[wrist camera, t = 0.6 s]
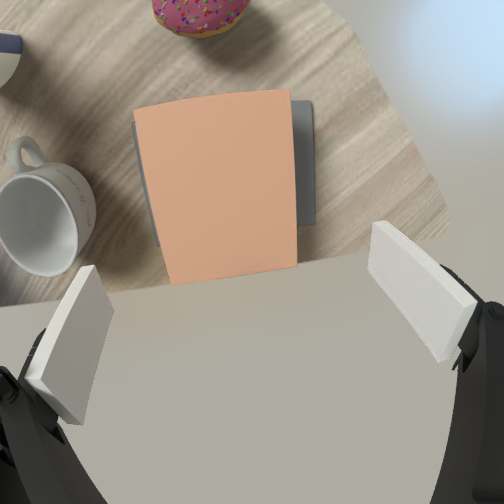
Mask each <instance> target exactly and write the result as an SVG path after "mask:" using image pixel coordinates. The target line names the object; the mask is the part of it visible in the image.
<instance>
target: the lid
mask: <svg viewBox="0 0 504 504" xmlns="http://www.w3.org/2000/svg"><path fill="white" fill-rule="evenodd" d="M133 112H134V119H135V125H136V132H137V138H138V144H139V149H140V155H141V160H142V166H143V171H144V176H145V181H146V186H147V190H148V195H149V200H150V204H151V209H152V213H153V217H154V221H155V226H156V230H157V234H158V238H159V242H160V246H161V249H162V253H163V257H164V261H165V264H166V268H167V272H168V275H169V279H170V282H171V286H173V285H180V284H187V283H194V282H200V281H208V280H214V279H220V278H228V277H234V276H241V275H246V274H254V273H260V272H266V271H272V270H279V269H285V268H291V267H297V220H296V188H295V165H294V145H293V129H292V114H291V100H290V89H281V90H261V91H247V92H236V93H227V94H218V95H210V96H203V97H196V98H190V99H184V100H178V101H172V102H167V103H162V104H157V105H153V106H148V107H144V108H139V109H135V110H133Z"/></svg>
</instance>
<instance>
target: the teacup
mask: <svg viewBox="0 0 504 504" xmlns="http://www.w3.org/2000/svg"><path fill="white" fill-rule="evenodd" d="M22 147H23V148H24V149H25V150H26V151H27V152H28V153H29V155H30V156H31V158H32V159H33V161H34V163H35V167H34V168H33V167H32V166H27V165H26V164H24V162H23V161H22V157H21V148H22ZM8 158H9V164H10V166H11V168H12V170H13V171H14V173H15V174H16V176H15V177H13V178H11V179H10V180H9V181H8V182H7V183H6V184H5V185H4V186H3V187H2V188H1V190H0V241H1V243H2V245H3V247H4V248H5V250H6V252H7V253H8V254H9V256H10V257H11V258H12V259H13V260H14V261H15V262H16V263H17V264H18V265H19V266H20V267H21V268H23V269H24V270H26V271H28V272H30V273H32V274H34V275H37V276H41V277H50V278H51V277H55V276H59V275H61V274H63V273H65V272H66V271H67V270H68V269H69V268H70V267H71V266H72V264H73V263H74V261H75V259H76V257H77V255H78V254H79V253H80V251H81V250H82V248H83V247H84V245H85V244H86V242H87V241H88V239H89V237H90V236H91V233H92V231H93V228H94V225H95V220H96V203H95V198H94V195H93V192H92V189H91V187H90V185H89V184H88V182H87V181H86V179H85V178H84V177H83V175H82V174H81V173H80V172H78V171H77V170H76V169H74V168H73V167H71V166H69V165H67V164H64V163H58V162H51V163H50V162H49V160H48V158H46V157H45V156H44V154H43V152H42V151H41V149H40V147H39V146H38V144H37V143H36V142H35V140H34V139H32V138H31V137H28V136H23V137H20V138H18V139H17V140H15V141H14V142H13V143H12V145H11V147H10V149H9V154H8Z"/></svg>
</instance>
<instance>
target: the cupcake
mask: <svg viewBox="0 0 504 504" xmlns="http://www.w3.org/2000/svg"><path fill="white" fill-rule="evenodd" d="M250 1H251V0H152V8H153V12H154V15H155V18H156V20H157V21H158V22H159V23H160V24H161V25H162V26H163V27H165V28H166V29H168V30H170V31H172V32H173V33H174V34H176V35H179V36H186V37H194V38H207V37H210V36H213V35H217V34H220V33H223V32H226V31H228V30H229V29H230V28H232V27H233V26H234V25H235V24H236V23H237V22H238V21H239V20H240V19H241V17H242V16H243V14H244V12H245V11H246V9H247V7H248V5H249V3H250Z"/></svg>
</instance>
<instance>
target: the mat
mask: <svg viewBox="0 0 504 504" xmlns="http://www.w3.org/2000/svg"><path fill="white" fill-rule="evenodd" d="M291 114H292V129H293V145H294V165H295V188H296V220H297V227H298V226H305V225H313V224H315V191H314V149H313V126H312V108H311V101H291ZM132 128H133V135H134V141H135V146H136V152H137V157H138V163H139V168H140V173H141V178H142V183H143V187H144V192H145V197H146V201H147V206H148V210H149V214H150V218H151V223H152V227H153V231H154V235H155V239H156V242H157V246H158V247H161V246H160V242H159V238H158V234H157V230H156V226H155V221H154V217H153V213H152V209H151V204H150V200H149V195H148V190H147V186H146V181H145V176H144V171H143V166H142V160H141V155H140V149H139V144H138V138H137V132H136V125H135V122H132Z"/></svg>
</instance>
